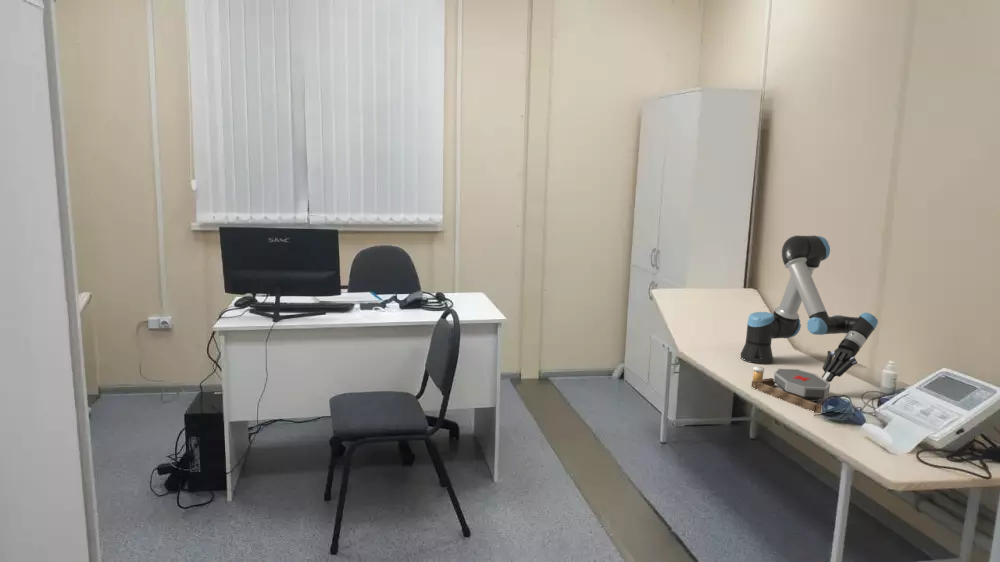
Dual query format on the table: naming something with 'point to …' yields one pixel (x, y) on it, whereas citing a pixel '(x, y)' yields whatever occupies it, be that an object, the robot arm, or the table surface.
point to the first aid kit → (802, 383)
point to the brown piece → (784, 394)
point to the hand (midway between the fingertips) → (821, 385)
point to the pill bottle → (758, 373)
